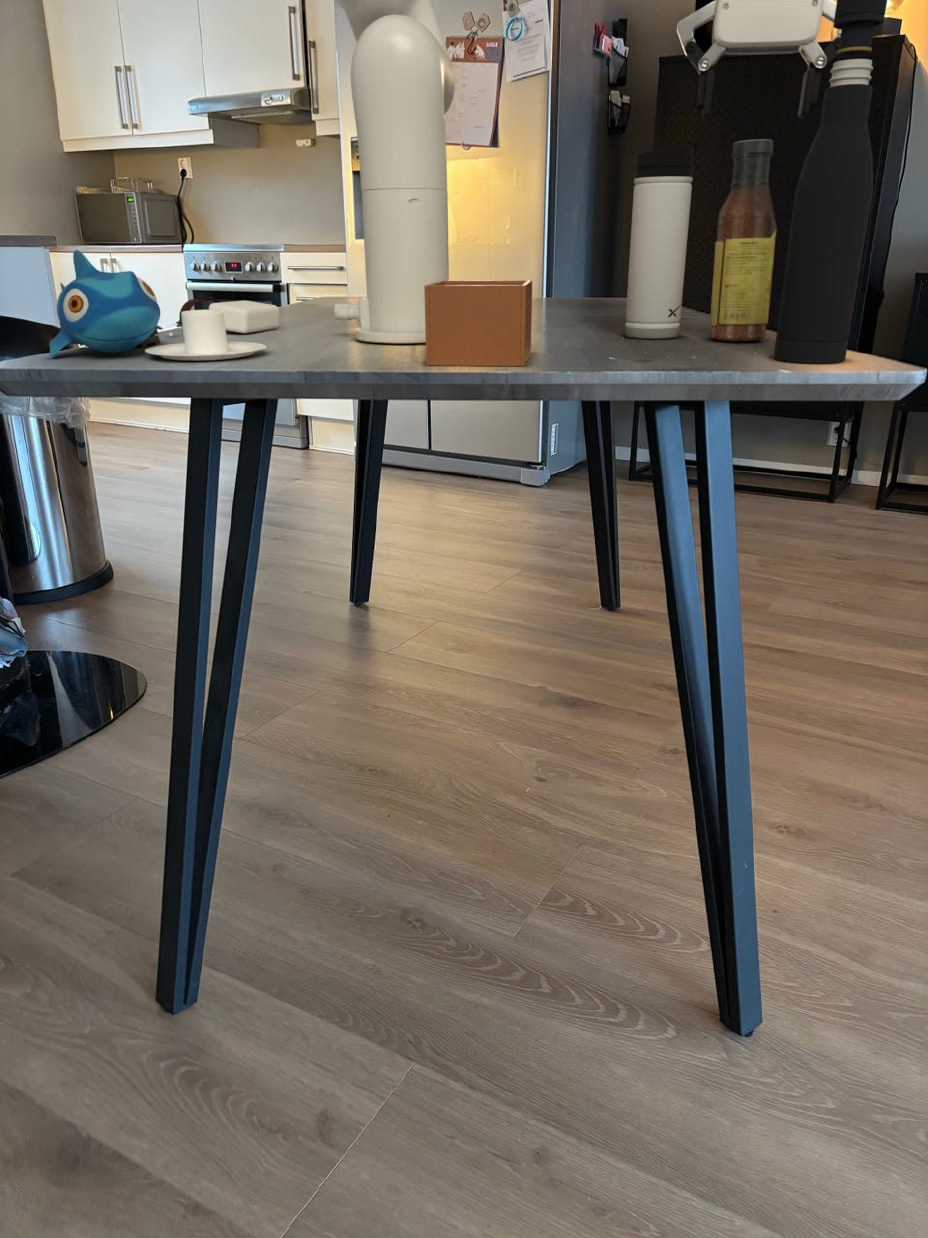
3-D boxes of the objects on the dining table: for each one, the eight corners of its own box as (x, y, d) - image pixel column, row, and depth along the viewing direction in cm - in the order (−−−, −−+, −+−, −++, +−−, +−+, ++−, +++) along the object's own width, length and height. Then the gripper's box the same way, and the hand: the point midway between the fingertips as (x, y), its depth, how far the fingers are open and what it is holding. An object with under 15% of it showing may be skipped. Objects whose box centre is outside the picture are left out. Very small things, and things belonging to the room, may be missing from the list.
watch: (174, 333, 110) (195, 342, 108) (176, 295, 107) (198, 304, 106) (216, 327, 116) (237, 336, 115) (219, 291, 113) (241, 300, 112)
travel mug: (686, 339, 99) (704, 140, 91) (629, 339, 100) (641, 141, 91) (675, 333, 105) (691, 146, 97) (621, 333, 105) (632, 146, 97)
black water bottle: (781, 363, 80) (834, -32, 68) (767, 354, 86) (814, -11, 74) (853, 364, 80) (920, -36, 67) (834, 355, 85) (893, -14, 73)
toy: (82, 367, 82) (42, 255, 78) (27, 361, 96) (-9, 265, 91) (198, 338, 89) (168, 232, 84) (132, 336, 102) (103, 245, 98)
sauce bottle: (777, 341, 97) (803, 138, 89) (734, 344, 94) (757, 135, 86) (736, 335, 102) (757, 144, 94) (694, 338, 100) (712, 142, 92)
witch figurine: (222, 318, 117) (217, 304, 116) (190, 330, 106) (183, 315, 106) (186, 330, 118) (181, 316, 117) (151, 343, 107) (144, 328, 107)
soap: (206, 302, 108) (206, 327, 109) (245, 309, 106) (245, 334, 108) (244, 299, 116) (243, 322, 117) (281, 305, 114) (280, 329, 116)
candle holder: (263, 361, 85) (259, 314, 83) (135, 364, 83) (128, 317, 81) (269, 347, 96) (265, 305, 94) (156, 350, 94) (150, 307, 92)
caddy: (426, 365, 81) (424, 285, 78) (441, 352, 90) (440, 280, 87) (524, 366, 80) (525, 285, 77) (530, 353, 89) (532, 280, 86)
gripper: (869, -82, 84) (836, 120, 91) (686, -73, 88) (668, 122, 94) (886, -110, 77) (849, 111, 84) (687, -98, 81) (667, 113, 88)
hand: (753, 117), depth 89 cm, fingers open, 9 cm apart
